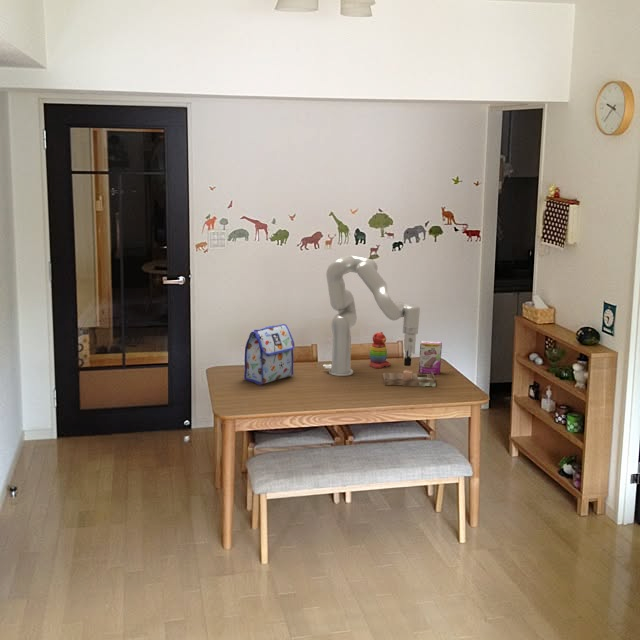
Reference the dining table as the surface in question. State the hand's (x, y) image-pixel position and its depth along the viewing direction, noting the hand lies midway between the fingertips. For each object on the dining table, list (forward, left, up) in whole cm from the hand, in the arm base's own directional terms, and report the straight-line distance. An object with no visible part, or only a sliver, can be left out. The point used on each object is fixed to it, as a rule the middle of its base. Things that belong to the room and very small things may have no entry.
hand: (407, 365), depth 426 cm
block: (0, -4, -6) cm, 7 cm away
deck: (+1, -1, -8) cm, 8 cm away
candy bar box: (+13, +15, -8) cm, 22 cm away
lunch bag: (-69, -2, -8) cm, 70 cm away
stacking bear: (-13, +27, -8) cm, 31 cm away
